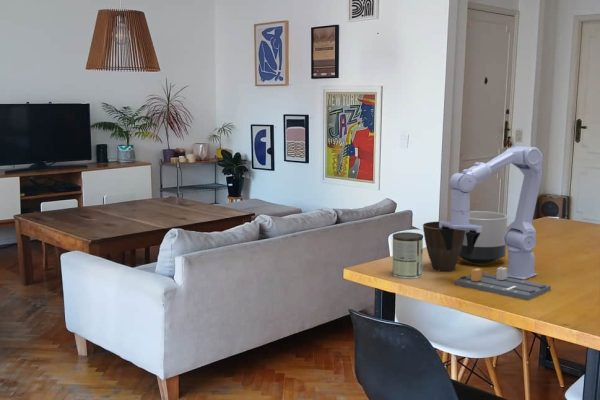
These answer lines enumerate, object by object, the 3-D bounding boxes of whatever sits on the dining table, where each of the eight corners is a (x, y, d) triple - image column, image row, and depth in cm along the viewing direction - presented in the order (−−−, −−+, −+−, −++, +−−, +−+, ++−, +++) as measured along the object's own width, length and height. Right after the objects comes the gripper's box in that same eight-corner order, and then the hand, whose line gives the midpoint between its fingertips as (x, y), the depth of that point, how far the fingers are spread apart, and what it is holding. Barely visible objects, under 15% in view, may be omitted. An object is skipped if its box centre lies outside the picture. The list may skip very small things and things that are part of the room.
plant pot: (458, 276, 216) (459, 230, 214) (416, 271, 223) (417, 226, 221) (469, 266, 229) (470, 223, 227) (429, 262, 236) (430, 220, 234)
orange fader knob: (476, 278, 205) (476, 267, 205) (481, 279, 204) (482, 268, 203) (471, 280, 203) (471, 269, 203) (476, 281, 202) (477, 270, 201)
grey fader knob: (501, 277, 206) (501, 266, 206) (506, 278, 205) (507, 267, 204) (496, 279, 204) (496, 268, 204) (502, 280, 203) (502, 269, 202)
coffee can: (389, 271, 223) (390, 232, 221) (418, 271, 223) (419, 231, 221) (395, 279, 212) (395, 238, 211) (425, 278, 213) (426, 237, 211)
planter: (508, 268, 225) (510, 219, 223) (453, 266, 229) (454, 218, 227) (502, 256, 244) (504, 211, 242) (451, 254, 248) (452, 210, 246)
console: (478, 276, 215) (479, 270, 215) (550, 290, 197) (550, 284, 197) (454, 284, 205) (454, 278, 205) (527, 300, 187) (528, 293, 187)
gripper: (434, 209, 206) (433, 250, 208) (474, 214, 196) (473, 256, 198) (445, 207, 211) (444, 247, 213) (485, 211, 201) (484, 253, 203)
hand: (459, 251), depth 206 cm, fingers open, 7 cm apart
